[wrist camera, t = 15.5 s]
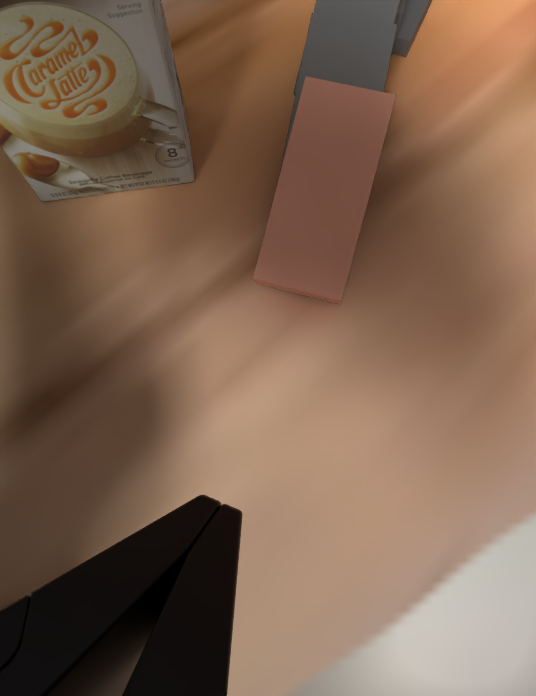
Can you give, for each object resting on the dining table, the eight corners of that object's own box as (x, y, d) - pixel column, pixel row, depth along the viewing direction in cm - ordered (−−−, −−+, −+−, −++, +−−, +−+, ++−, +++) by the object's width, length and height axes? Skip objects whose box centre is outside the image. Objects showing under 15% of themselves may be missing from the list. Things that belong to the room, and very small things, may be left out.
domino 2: (357, 217, 25) (397, 24, 24) (273, 203, 25) (312, 13, 25) (355, 226, 26) (391, 46, 26) (276, 213, 27) (312, 35, 27)
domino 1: (369, 109, 27) (425, -93, 25) (293, 92, 27) (343, -108, 25) (367, 118, 29) (420, -70, 27) (296, 102, 29) (343, -84, 27)
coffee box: (39, 208, 27) (-265, -172, 12) (39, 120, 29) (-221, -298, 14) (199, 184, 28) (97, -218, 12) (187, 98, 30) (88, -337, 14)
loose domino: (341, 300, 23) (396, 95, 23) (252, 278, 23) (305, 76, 23) (339, 304, 25) (390, 113, 24) (257, 283, 25) (306, 95, 25)
